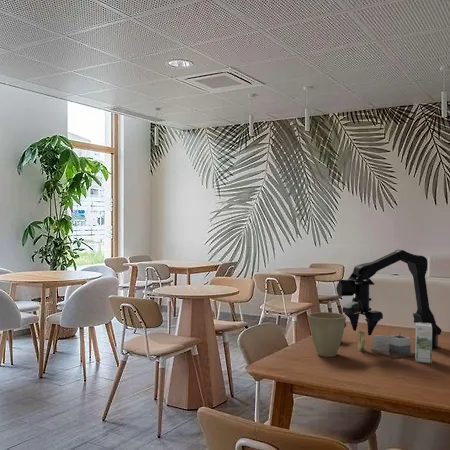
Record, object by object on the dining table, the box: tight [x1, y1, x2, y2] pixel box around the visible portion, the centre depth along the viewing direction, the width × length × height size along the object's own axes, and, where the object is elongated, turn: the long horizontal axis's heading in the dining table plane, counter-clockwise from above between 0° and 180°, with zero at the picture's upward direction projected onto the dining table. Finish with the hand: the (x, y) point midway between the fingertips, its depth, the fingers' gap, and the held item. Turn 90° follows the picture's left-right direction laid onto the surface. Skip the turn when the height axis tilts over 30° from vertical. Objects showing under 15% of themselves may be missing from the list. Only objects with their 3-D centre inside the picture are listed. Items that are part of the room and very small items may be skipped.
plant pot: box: [308, 311, 347, 358], centre depth 205 cm, size 15×15×16 cm
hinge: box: [370, 331, 416, 360], centre depth 207 cm, size 15×12×7 cm
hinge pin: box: [357, 330, 366, 352], centre depth 211 cm, size 3×3×8 cm
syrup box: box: [414, 322, 433, 364], centre depth 196 cm, size 6×6×14 cm
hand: (362, 332), depth 211 cm, fingers open, 9 cm apart
